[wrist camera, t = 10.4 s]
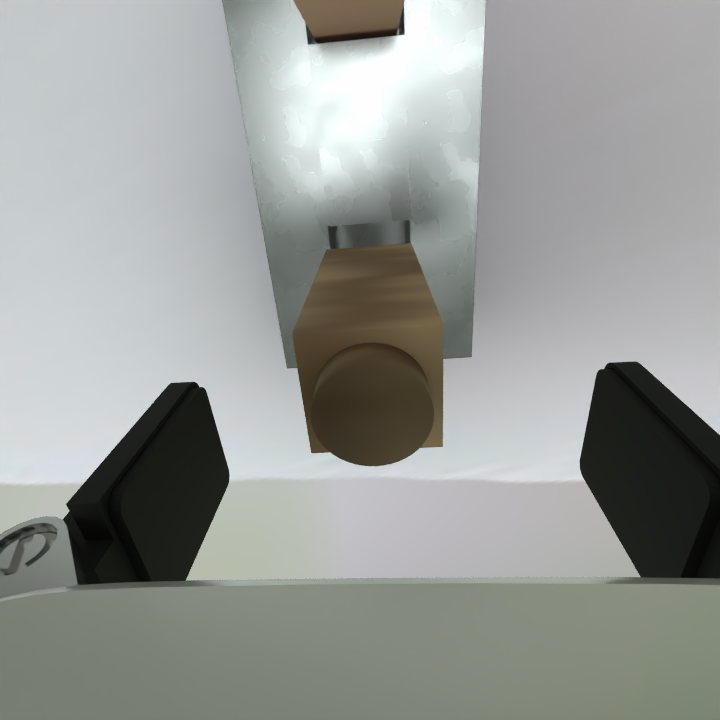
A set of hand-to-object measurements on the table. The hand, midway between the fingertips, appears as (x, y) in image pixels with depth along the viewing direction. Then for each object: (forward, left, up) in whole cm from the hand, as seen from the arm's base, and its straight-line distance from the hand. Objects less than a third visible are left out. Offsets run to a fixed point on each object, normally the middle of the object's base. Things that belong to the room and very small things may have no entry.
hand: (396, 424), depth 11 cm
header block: (+1, -6, -21) cm, 22 cm away
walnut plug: (+1, 0, -12) cm, 12 cm away
